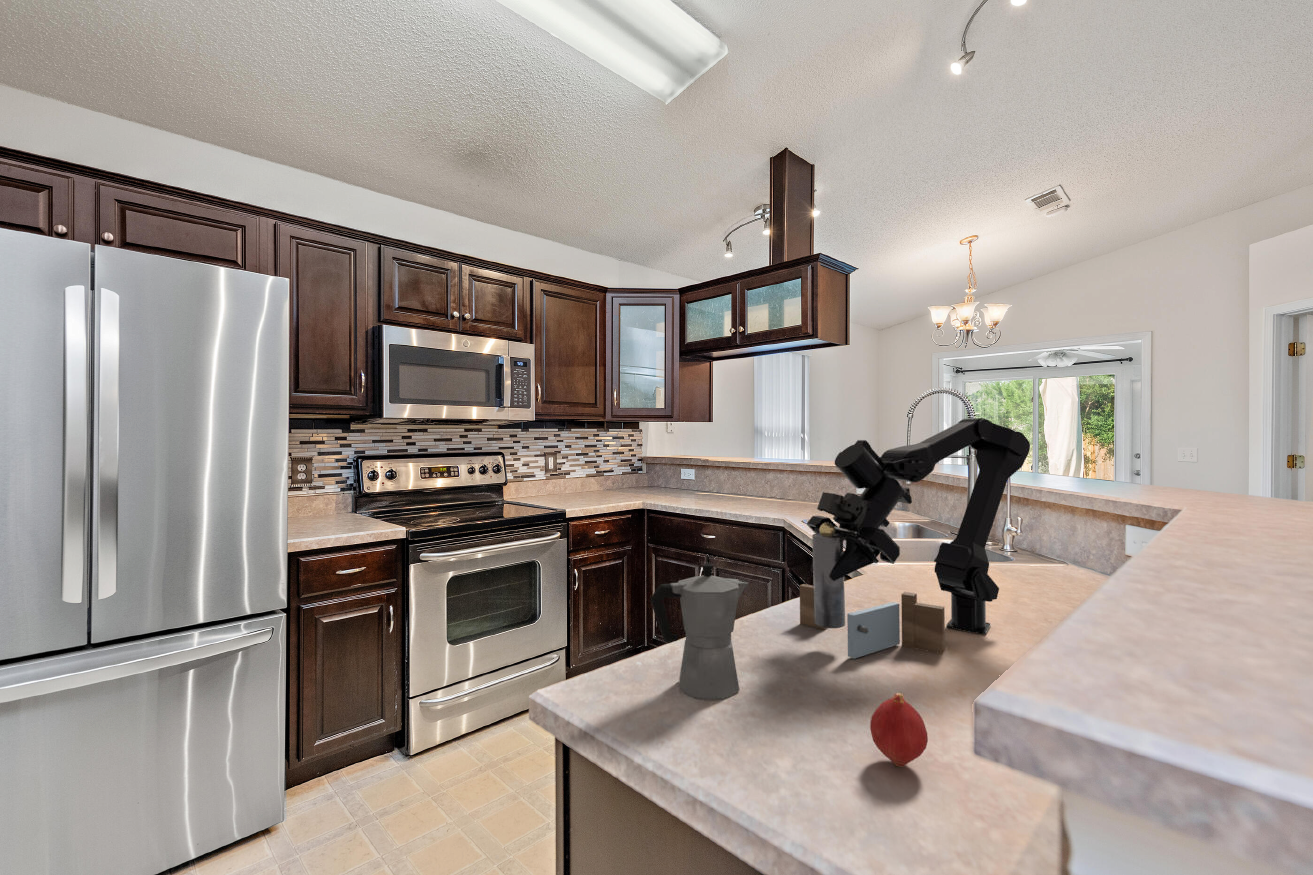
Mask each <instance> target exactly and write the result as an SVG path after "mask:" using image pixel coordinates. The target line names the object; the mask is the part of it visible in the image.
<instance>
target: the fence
mask: <svg viewBox="0 0 1313 875" xmlns="http://www.w3.org/2000/svg"><path fill="white" fill-rule="evenodd" d="M917 594H918V593H916V592H909V591H903V592H902V593H901V595H900V597H901V598H900V599H901V647H905V648H910V649H915V650H920V651H925V652H926V651H927V652H931V653H935V654H940V655H944V653H946V652H945V651H946V644H945V642H946V639H945V638H946V636H945V635H946V631H945V629H946V628H945V627H946V626H945V625H946V624H945V623H946V622H945V621H946V620H945V619H946V618H945V606H943V605H942V606H941V605H937V604H929V603H922V602H919V601H917V600H918V595H917ZM799 625H802V626H807V627H810V628H811V627H812V628H815V629H818V630H824V631H826V630H828V628H825V627H821V626H818V625H816V624H815V612H814V585H810V584H806V583H803V584H800V585H799Z"/></svg>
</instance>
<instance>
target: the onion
mask: <svg viewBox="0 0 1313 875" xmlns="http://www.w3.org/2000/svg"><path fill="white" fill-rule="evenodd" d="M869 727H870V734H871V737H872V742H874V745H875V746H876V748H877V749H878V750H879V751H880V752H881V753H882V755H884V757H886V758H887V759H888V760H889V761H891V762H892V764H893V765H894V766H897V767H899V768H901V767H905V766H906V765H908V763H911V762H912V761H914V760H916V759H918V758H919V757H921V755H922V754H923V753H924V751H925V750H926V749H927V746H928V741H929V737H928V731H927V728H926V724H925V721H924V720H923V717H922V716H921V715H920V713H919V712H918V711H917V710H916V709H915V708H914V707H913V706H912V705H911V704H910V702H908V701H906V700H905V698H904V695H903V693H900V692H899V693H898V692H896V693H895V694H894V696H893V697H891V698H888V699H887V700H885V701H883V702H882V703H880V704H879V706H878V707H877V708H876V709H875V711H874V712H873V714H872V715H871V719H870V724H869Z"/></svg>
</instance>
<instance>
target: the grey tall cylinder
mask: <svg viewBox="0 0 1313 875" xmlns="http://www.w3.org/2000/svg"><path fill="white" fill-rule="evenodd" d="M819 531H820V533H817V534H815V533H813V534H812V536H811V537H812V539H811V540H812V563H813V572H812V573H813V576H812V577H813V586H814V612H815V624H816V625H818V626H821V627H825V628H827V629H839V628H844V627H845V626H846V604H845V603H846V602H845V599H846V598H845V596H846V595H845V594H846V593H845V576H844V577H842V578H840V579H837V580H835V581H833V580H832V579H831V578H830V577H829V576H830V574H831V572H832V570H833V568H834V567H835V565H836V564H837V562H838V560H839V559H840V557H841V556H842V554H843V551H844V541H843V535H840V534H835V527H834V526H833V525H832V524H831V523H823V524H822V525H821V526H820V529H819Z"/></svg>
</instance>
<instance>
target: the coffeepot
mask: <svg viewBox="0 0 1313 875" xmlns="http://www.w3.org/2000/svg"><path fill="white" fill-rule="evenodd" d="M713 568H714V564H712V563H710V562H709V563H707V562H705V563H704V564H702V570H703V574H704V575H698V576H697V575H696V576H692V577H688V578H685V579H680V580H678V582H672V583H662V584H660V585H659V586H658V587H657V589H656V590H655V591H654V593H653V594H652V595H651V598H650V603H651V604H650V605H651V608H652V610H653V612H654V615H655V619H656V621H657V625H658V627H659V630H660V632H661V633H660V634H661V635H662V639H663V640H664V641H665V642H677V641H678V639H679V633H671V631H670V630H671V629H670V621H669V620H668V618H667V612H666V606H665V604H664V602H663V601H664V599H665V598H679V602H680V608H681V614H682V615H681V617H682V622H683V628H684V630H683V631H684V632H685V639H684V645H683V646H684V647H683V651H682V652H683V653H682V658H681V659H682V660H681V666H680V672H679V679H678V680H679V682H678V683H679V684H678V685H679V687H678V689H679V691H680V692H682V693H683V694H684V695H686V696H688V697H690V698H692V697H693V699H696V700H702V701H720V700H724V699H729V698H731V697H733V696H735V695H736V694H737V693H738V692H739V691H740V684H739V680H738V673H737V667H736V666H737V665H736V661H735V654H734V647H733V642H732V633H733V632H734V629H735V622H736V615H737V607H738V606H737V605H738V601H739V600H740V598H741V596H742V594H743V591H744V590H745V588H746V587H747V586H749V585H750V584H749V582H747V581H745V580H743V579H742V580H741V579H738V578H737V579H736V578H726V577H720V576H714V575H712V574H713Z"/></svg>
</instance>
